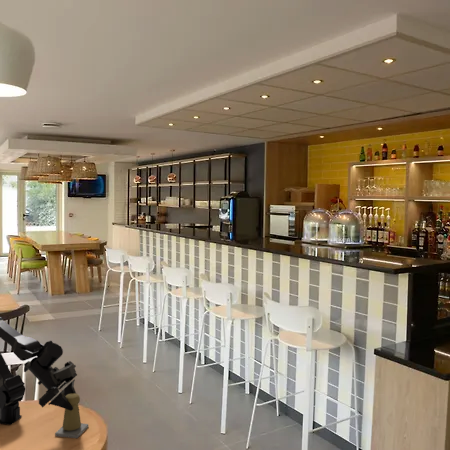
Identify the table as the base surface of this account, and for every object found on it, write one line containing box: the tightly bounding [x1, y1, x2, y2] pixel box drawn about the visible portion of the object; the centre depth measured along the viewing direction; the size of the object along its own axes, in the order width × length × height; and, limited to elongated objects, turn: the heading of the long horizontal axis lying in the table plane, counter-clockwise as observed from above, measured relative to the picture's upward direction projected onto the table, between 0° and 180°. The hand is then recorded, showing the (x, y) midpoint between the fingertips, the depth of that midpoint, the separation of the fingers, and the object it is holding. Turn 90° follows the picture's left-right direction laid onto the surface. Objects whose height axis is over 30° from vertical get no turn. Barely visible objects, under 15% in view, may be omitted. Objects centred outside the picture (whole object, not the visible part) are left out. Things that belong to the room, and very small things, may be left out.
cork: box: [62, 392, 82, 431], centre depth 156 cm, size 6×6×11 cm
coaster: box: [54, 422, 89, 439], centre depth 156 cm, size 8×8×1 cm
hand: (75, 406), depth 156 cm, fingers closed on cork, 5 cm apart
